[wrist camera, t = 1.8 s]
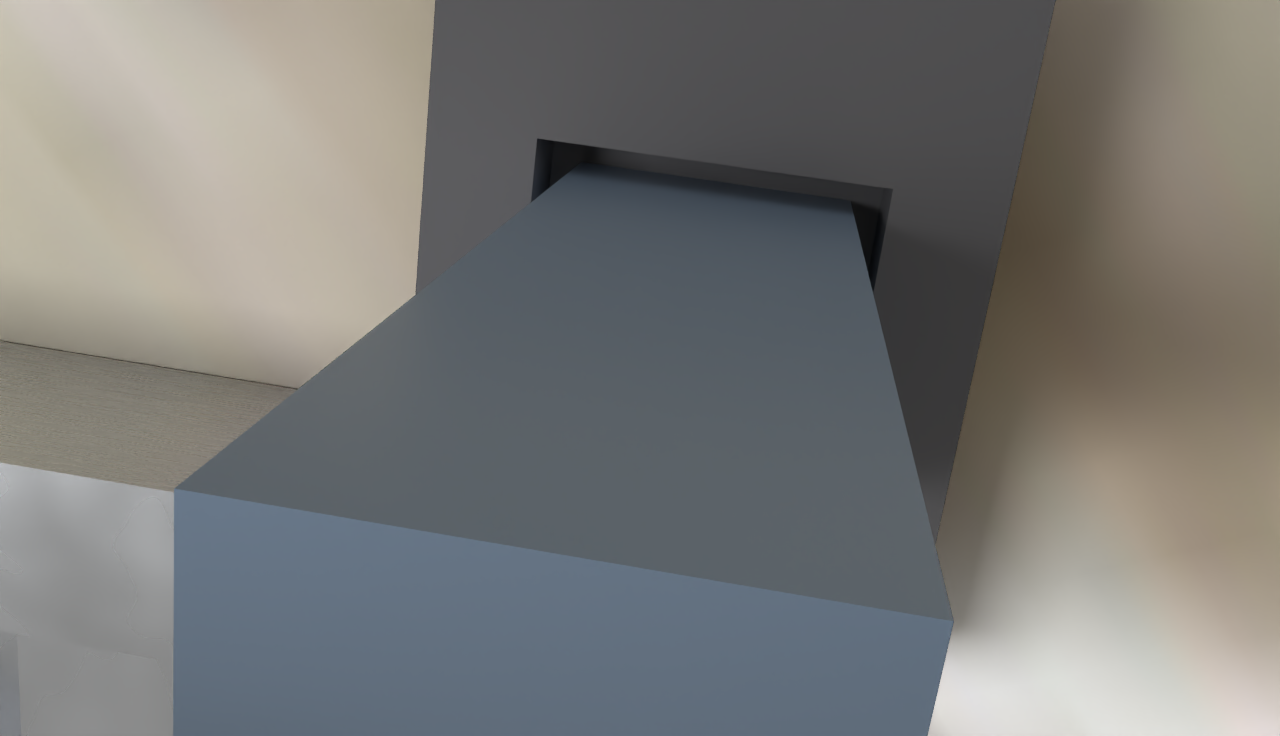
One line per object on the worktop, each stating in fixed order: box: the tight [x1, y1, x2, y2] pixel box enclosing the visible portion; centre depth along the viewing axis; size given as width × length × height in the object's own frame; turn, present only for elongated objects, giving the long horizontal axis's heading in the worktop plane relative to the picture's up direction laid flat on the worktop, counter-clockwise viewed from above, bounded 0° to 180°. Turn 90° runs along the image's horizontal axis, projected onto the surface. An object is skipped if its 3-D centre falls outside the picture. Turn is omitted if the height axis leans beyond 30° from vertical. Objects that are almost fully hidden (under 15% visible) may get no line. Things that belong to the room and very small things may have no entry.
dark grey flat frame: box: [416, 0, 1056, 544], centre depth 21 cm, size 12×9×2 cm
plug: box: [173, 162, 954, 736], centre depth 14 cm, size 4×4×14 cm
